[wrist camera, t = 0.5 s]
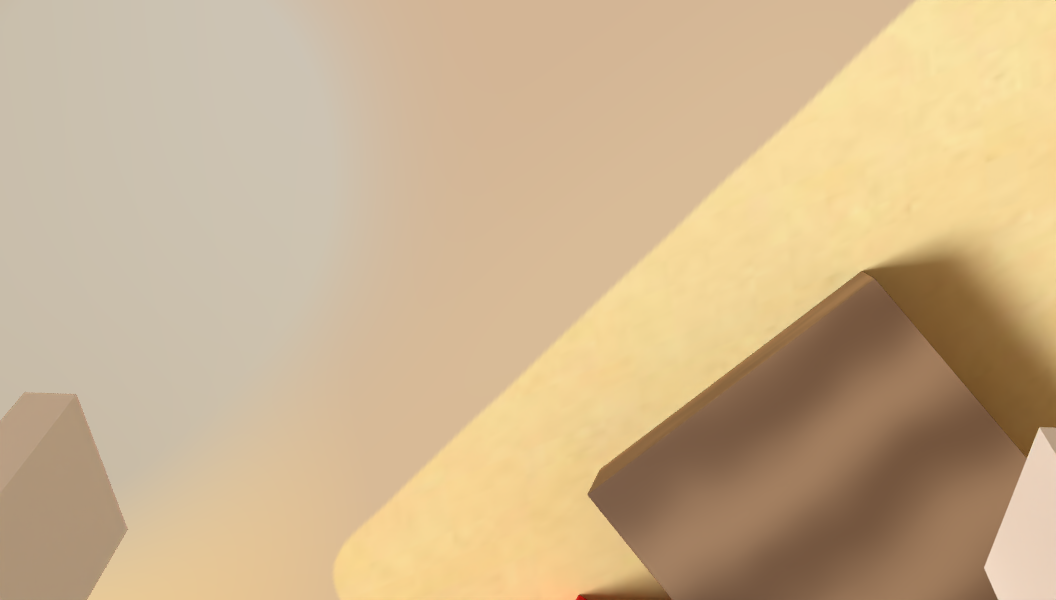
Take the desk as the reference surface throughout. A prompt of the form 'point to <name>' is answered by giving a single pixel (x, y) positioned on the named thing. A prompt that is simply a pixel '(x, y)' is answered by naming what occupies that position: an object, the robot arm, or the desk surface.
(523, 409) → the desk surface
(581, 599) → the puzzle toy
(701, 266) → the desk surface
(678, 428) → the walnut plinth
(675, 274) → the desk surface
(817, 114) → the desk surface
